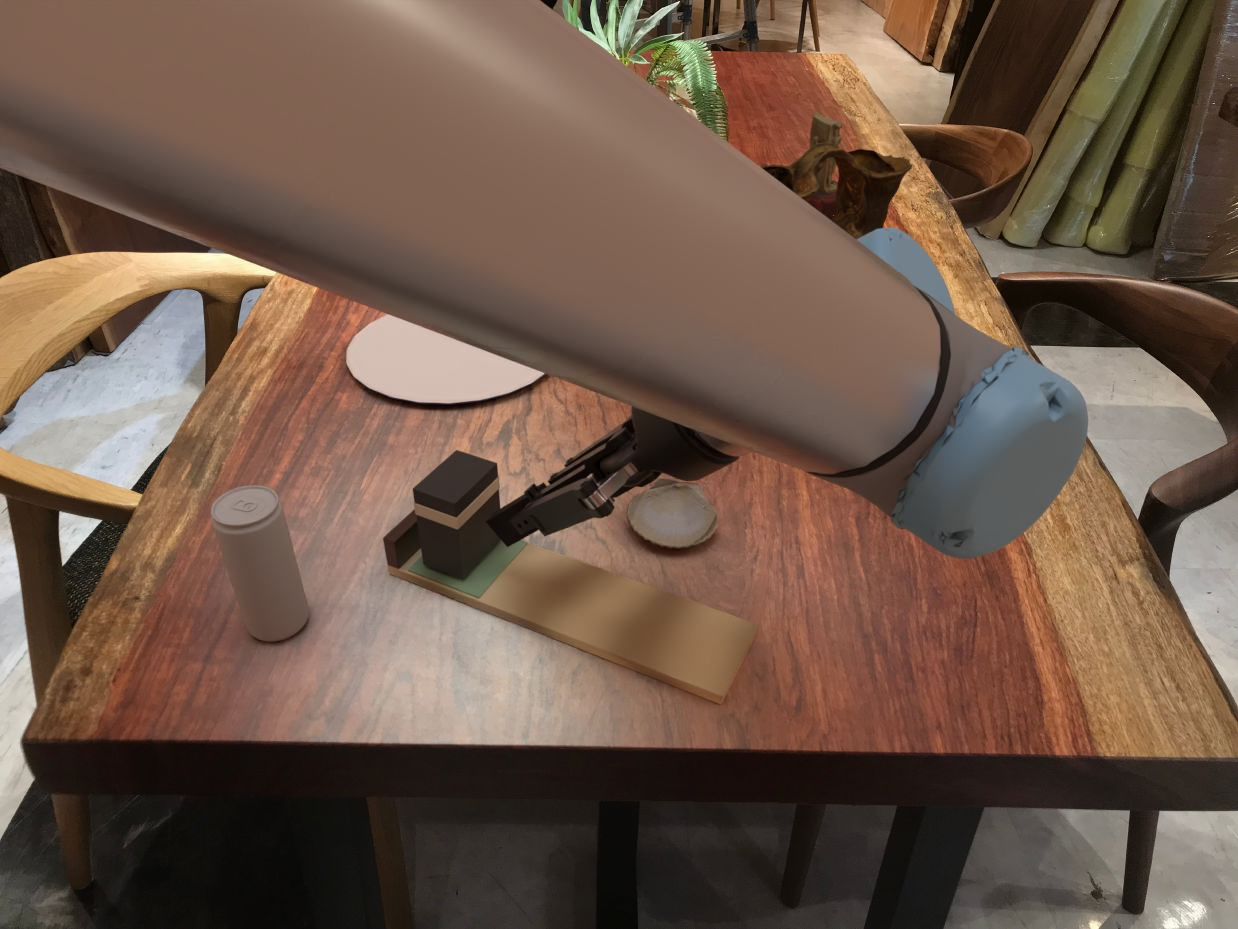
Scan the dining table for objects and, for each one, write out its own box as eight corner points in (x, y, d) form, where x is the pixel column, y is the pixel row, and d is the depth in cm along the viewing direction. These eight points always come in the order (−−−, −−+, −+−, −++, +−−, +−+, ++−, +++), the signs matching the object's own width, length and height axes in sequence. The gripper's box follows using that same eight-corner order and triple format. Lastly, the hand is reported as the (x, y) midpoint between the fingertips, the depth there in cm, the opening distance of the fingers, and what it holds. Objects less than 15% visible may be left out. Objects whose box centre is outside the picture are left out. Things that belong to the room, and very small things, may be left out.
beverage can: (286, 652, 68) (251, 532, 61) (233, 636, 69) (193, 517, 62) (322, 609, 72) (294, 492, 65) (271, 595, 73) (238, 478, 66)
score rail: (757, 633, 71) (763, 596, 69) (721, 705, 65) (726, 668, 63) (444, 520, 81) (440, 485, 79) (388, 573, 75) (382, 537, 73)
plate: (495, 291, 120) (495, 282, 119) (602, 369, 104) (602, 359, 103) (314, 339, 108) (312, 330, 107) (402, 436, 92) (401, 426, 91)
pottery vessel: (852, 262, 131) (879, 121, 119) (904, 291, 123) (937, 144, 111) (708, 293, 121) (722, 144, 109) (755, 327, 113) (775, 170, 102)
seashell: (624, 558, 80) (709, 563, 77) (615, 534, 78) (702, 539, 75) (649, 493, 86) (730, 496, 83) (642, 470, 84) (724, 472, 81)
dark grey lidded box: (503, 537, 77) (498, 462, 73) (463, 580, 73) (455, 504, 68) (463, 523, 79) (456, 448, 74) (422, 564, 74) (411, 488, 69)
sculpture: (856, 216, 146) (873, 121, 137) (818, 225, 142) (833, 128, 133) (817, 197, 152) (831, 106, 144) (779, 205, 149) (791, 112, 140)
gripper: (711, 508, 52) (487, 616, 68) (779, 403, 62) (569, 518, 77) (631, 409, 51) (422, 541, 66) (714, 317, 60) (514, 452, 76)
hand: (501, 529), depth 72 cm, fingers closed
